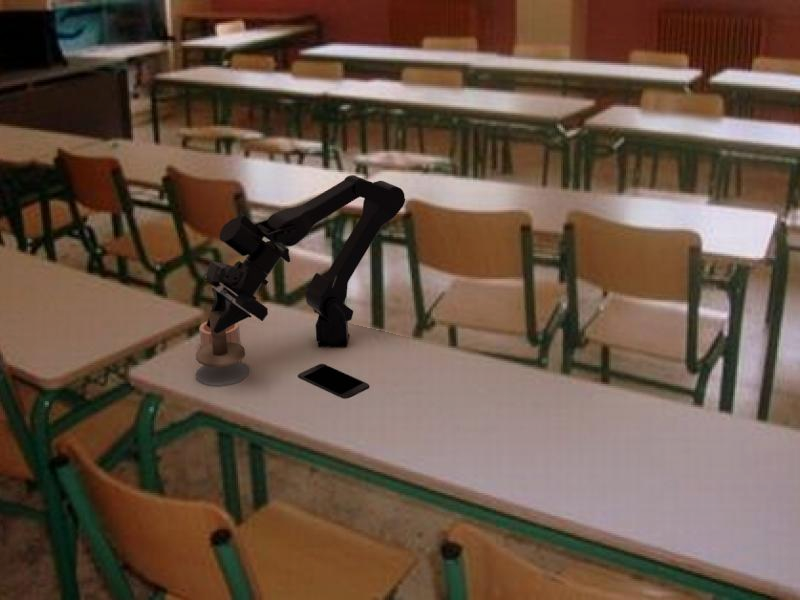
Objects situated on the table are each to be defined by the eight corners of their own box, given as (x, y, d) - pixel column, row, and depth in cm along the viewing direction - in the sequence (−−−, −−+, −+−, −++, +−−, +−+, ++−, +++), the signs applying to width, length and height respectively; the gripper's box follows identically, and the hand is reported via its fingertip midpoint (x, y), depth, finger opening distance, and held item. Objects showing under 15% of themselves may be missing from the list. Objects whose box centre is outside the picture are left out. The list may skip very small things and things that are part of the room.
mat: (253, 362, 205) (253, 360, 204) (243, 386, 194) (243, 384, 194) (202, 361, 205) (202, 360, 205) (190, 385, 195) (189, 384, 195)
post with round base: (249, 345, 203) (245, 304, 199) (239, 367, 193) (235, 324, 190) (202, 345, 203) (198, 304, 199) (190, 366, 194) (186, 323, 190)
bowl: (243, 336, 217) (241, 318, 215) (235, 353, 209) (234, 334, 207) (206, 336, 217) (204, 318, 215) (197, 352, 209) (195, 334, 207)
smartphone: (345, 401, 189) (345, 397, 189) (295, 378, 198) (295, 374, 198) (372, 388, 194) (372, 384, 194) (322, 366, 203) (321, 362, 203)
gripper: (209, 234, 198) (164, 295, 197) (249, 259, 184) (200, 326, 183) (247, 262, 205) (204, 321, 204) (288, 288, 191) (241, 352, 190)
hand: (211, 329), depth 195 cm, fingers closed on post with round base, 3 cm apart
